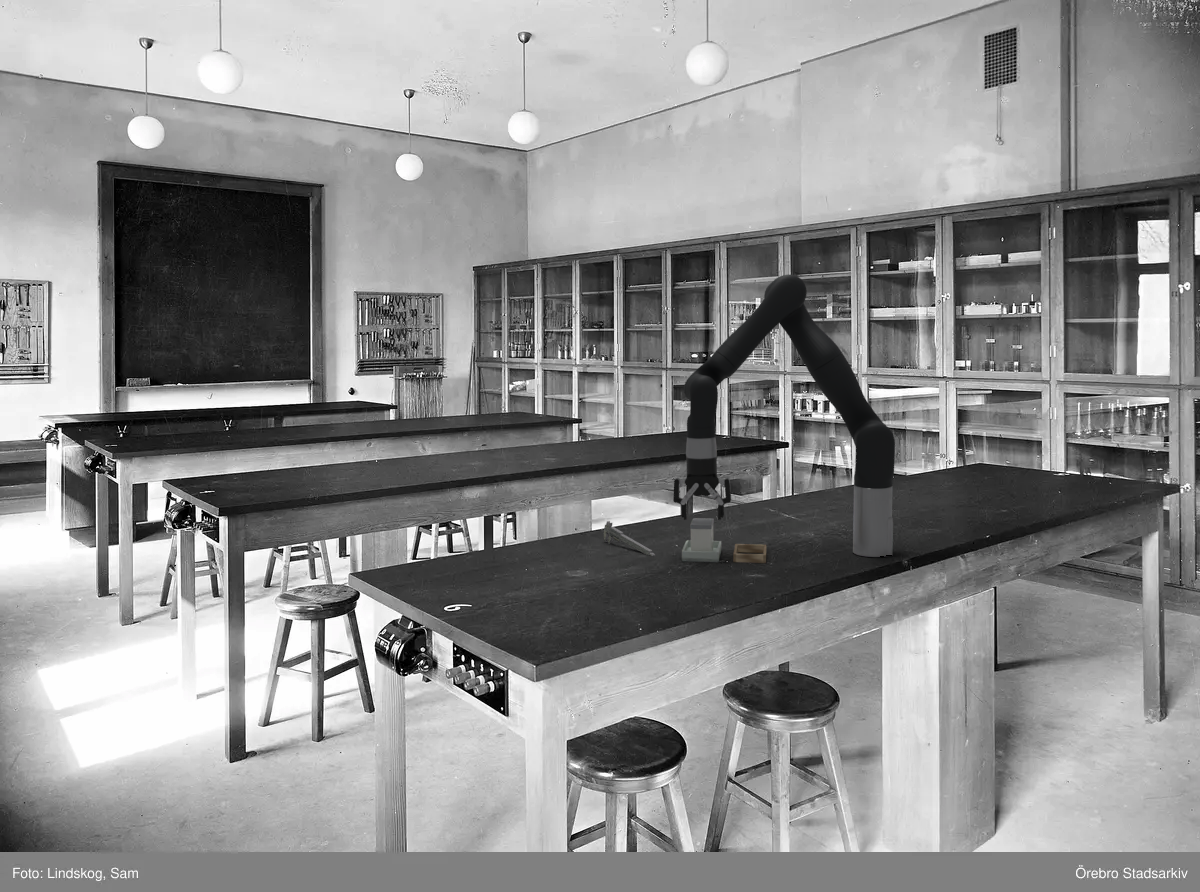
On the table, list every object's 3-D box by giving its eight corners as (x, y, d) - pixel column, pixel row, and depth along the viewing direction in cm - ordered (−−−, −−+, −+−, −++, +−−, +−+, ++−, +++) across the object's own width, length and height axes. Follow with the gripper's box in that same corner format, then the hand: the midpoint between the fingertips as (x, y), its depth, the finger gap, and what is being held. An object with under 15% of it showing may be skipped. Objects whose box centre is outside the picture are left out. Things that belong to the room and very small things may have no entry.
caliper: (603, 543, 248) (603, 520, 247) (606, 542, 249) (606, 520, 248) (652, 557, 232) (652, 533, 231) (655, 556, 232) (655, 532, 232)
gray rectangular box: (713, 549, 234) (713, 518, 233) (711, 557, 226) (711, 525, 225) (693, 548, 235) (693, 518, 234) (690, 556, 227) (690, 524, 226)
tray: (721, 550, 236) (721, 541, 236) (718, 562, 224) (718, 552, 224) (686, 549, 238) (686, 540, 237) (681, 561, 226) (681, 551, 226)
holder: (766, 552, 233) (766, 544, 233) (765, 563, 223) (765, 555, 222) (735, 551, 235) (735, 543, 234) (733, 562, 224) (733, 554, 224)
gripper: (731, 453, 230) (731, 516, 232) (674, 453, 233) (675, 516, 235) (729, 457, 223) (730, 522, 225) (671, 457, 225) (672, 522, 227)
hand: (702, 519), depth 230 cm, fingers open, 8 cm apart
